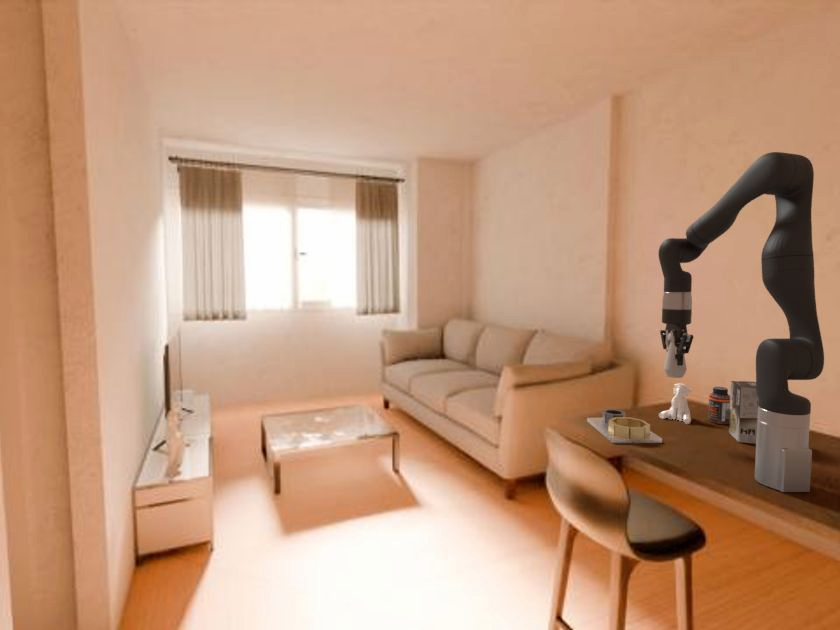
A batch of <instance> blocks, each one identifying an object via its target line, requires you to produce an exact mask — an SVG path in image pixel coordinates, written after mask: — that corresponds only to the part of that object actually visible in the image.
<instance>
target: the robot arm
mask: <svg viewBox="0 0 840 630" xmlns="http://www.w3.org/2000/svg"><path fill="white" fill-rule="evenodd" d="M814 173H815V172H814V166H813V164H812V162H811V160H810V159H809V158H808V157H806V156H804V155H801V154H795V153H789V152H783V151H782V152H781V151H775V152H774V151H772V152H768V153H765V154H763V155H761V156H759V158H757V159H756V160H755V161H754V162H752V164H750V166H749V167H748V168H747V169H746V170H745V171H744V172H743V174H742V175H741V176H740V177H739V178H738V179H737V181H735V183H734V184H732V186H731V187H730V188H729V189H728V190H726V192H725V194H724V195H723V196H722V197H721V198H720V199H719V200H718V201H717V202H716V203H715V204H714V205H713V206H712V207H710V209H709V210H707V211H706V212H705V213H704V214H703V215H701V216H700V217H699V218H698V219H696V220H695V221H694V222H693V223H691V224H690V225H689V226H688V227H687V228H686V230H685V236H686V237H685V238H677V237H675V238H674V237H672V238H671V237H670V238H667V239H664V240H663V241H662V242H661V244H660V246H659V248H658V261H659V263H660V267H661V272H662V275H663V295H662V307H661V322H662V324H665V328H664V329H663V330H662V329H661V330H660V331H659V333H660V340H661V344H662V349H663V350H665V351H666V353H668V349H669V344H670V340H668V334H669V333H671V336H672V346H673V347H674V353H675V361H676V359H677V365H678V366H682V365H683V355H684V356H685V355H686V354H689V353H690V349H691V346H692V342H693V340H694V335H693V334H689V333H688V327H687V325H690V324H691V323H692V314H693V312H692V310H693V296H692V287H693V286H692V283H693V282H692V280H693V278H692V274H691V273H690V272H689V271H686V270H683V269H682V265H681V264H686V263H687V264H688V263H692V262H693V261H695V260H696V259H698V258H699V257H700V256H701V255H702V254H703V253H704V251H705V250H706V249H707V248H708V246H709V245H710V244H712V243H713V242H714V241H715V240H716V239H718V238H720V237H721V236H723V234H725V233H726V232H728V230H730V228H731V227H732V226H733V225H734V223H735V222H736V219H738V218H737V217H738V216H739V214H740V212H741V210H742V209H743V208H744V207H746V206H747V205H748V204H749V203H750V202H752V201H754V200H755V199H758V198H759V197H761V196H763V195H770V196H774V198H775V199H774V200H775V208H776V210H775V211H776V212H775V213H776V215H775V216H776V217H775V222H774V225H773V227H772V230H771V231H770V233H769V234H768V237H767V239H766V241H765V243H764V245H763V248H762V251H761V255H760V256H761V262H760V264H761V277H762V278H761V279H762V282H763V285H764V287H765V289H766V291H767V292H768V293H769V295H770V296H771V297H772V298H773V300H774V301H775V302H776V304H777V306H779V307H780V309H781V310H782V312H783V314H784V315H785V319H786V322H787V326H788V330H789V338H767V339H764V340H762V341H761V342H760V344H758V347H757V350H756V353H755V354H756V355H755V382H756V392H757V396H758V419H757V438H756V444H755V457H754V458H755V459H754V460H755V461H754V462H755V463H754V464H755V465H754V479H755V481H756V482H757V483H760V484H761V485H762V486H765V487H769V488H771V489H774V490H778V491H780V493H810V490H811V489H810V488H811V475H812V474H811V473H812V458H813V457H812V456H813V450H812V449H810V448H809V440H810V423H811V414H812V413H811V412H812V409H811V408H812V403H811V401H810V399H808V398H807V397H804V396H802V395H799V394H796V393H793V392H792V391H790V388H789V381H809V380H811V381H812V380H815V379H817V378H818V377H819V376H821V374H822V372H823V370H824V366H825V351H824V347H823V346H824V345H823V344H824V343H823V340H822V335H821V329H820V328H821V327H820V323H819V317H818V310H817V301H816V290H815V289H816V288H815V259H814V258H815V257H814V249H813V248H814V247H813V246H814V245H813V229H812V228H813V227H812V225H813V224H812V222H813V221H812V207H813V206H812V204H813V194H814V193H813V191H814V190H813V189H814V178H815V175H814ZM677 343H680V344H677ZM678 346H679V349H678Z"/></svg>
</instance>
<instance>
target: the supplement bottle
mask: <svg viewBox="0 0 840 630" xmlns="http://www.w3.org/2000/svg"><path fill="white" fill-rule="evenodd" d="M728 389H729V388H727V387H724V386H713V388H712V392H711V393H710V394H709V395H708V410H707V411H708V415H707V418H708V419H707V420H708V421H709V422H710V423H712V422H713V423H712V424H716V425H729V417H730V394H729V393H728V392H729V390H728Z"/></svg>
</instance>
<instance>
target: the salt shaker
mask: <svg viewBox="0 0 840 630" xmlns="http://www.w3.org/2000/svg"><path fill="white" fill-rule="evenodd" d="M668 340H670V344H669V349H668V352H666V353H667V354H666V358H665V362H664V365H663V370H664V372H665V374H666V376H667V377H668V378H674V379H681V378H684V376H685V375H686V372H687V363H686V357H685V354H684V355H683V365H682V366H678V365H677V359H676V361H675V353H674V347H673V346H672V336H671V333H669V334H668ZM677 344H680V343H677ZM678 349H679V346H678Z"/></svg>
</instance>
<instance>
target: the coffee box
mask: <svg viewBox="0 0 840 630" xmlns="http://www.w3.org/2000/svg"><path fill="white" fill-rule="evenodd" d="M729 393H730V394H729V396H730V417H729V424H728V425H729V427H728V433H729V435H731V436H732V437H733V438H734V439H735V440H736V441H737V442H738V443H744V444H754V445H756V438H757V419H758V396H757V392H756V381H746V380H739V381H735V380H731V381H730V392H729Z"/></svg>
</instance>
